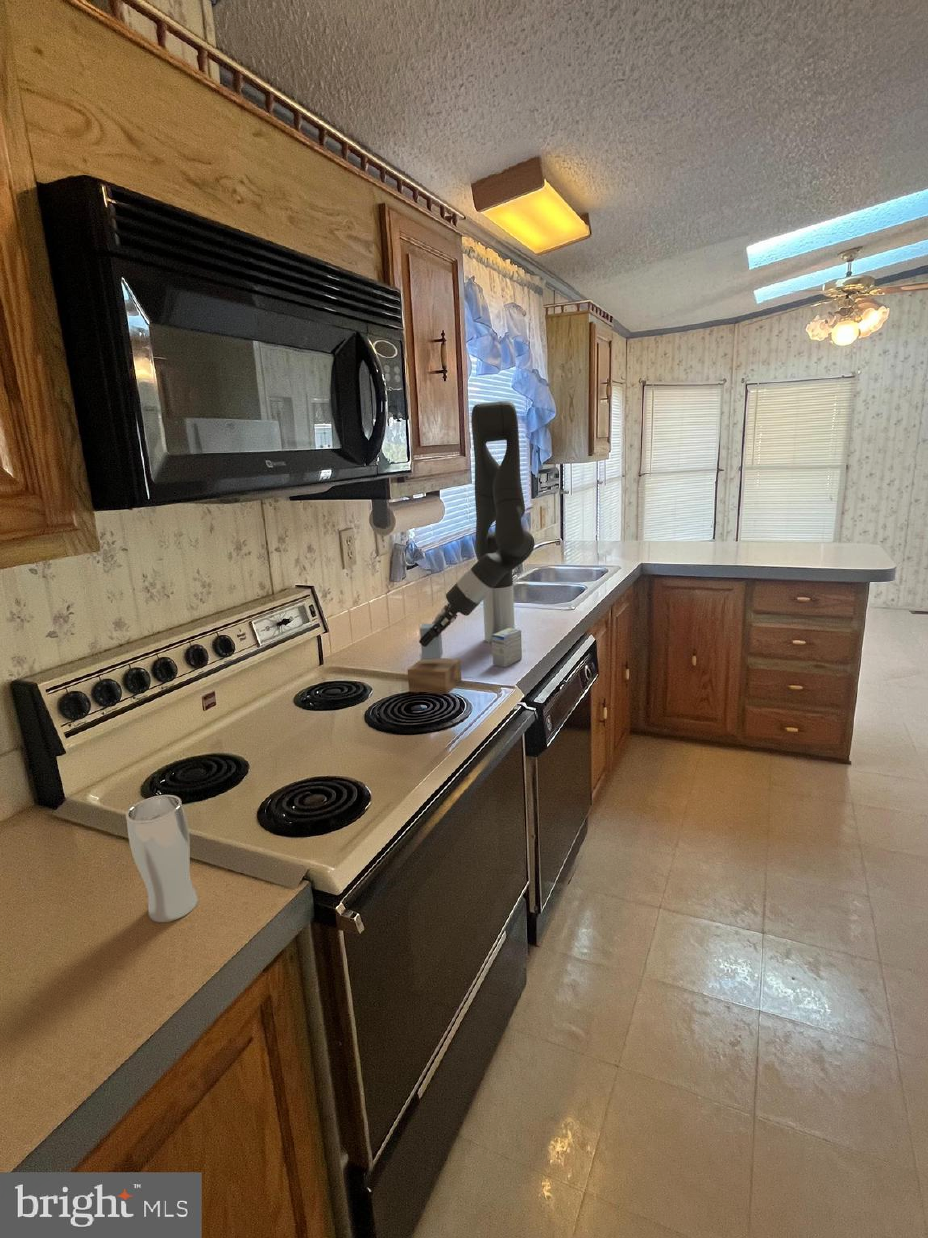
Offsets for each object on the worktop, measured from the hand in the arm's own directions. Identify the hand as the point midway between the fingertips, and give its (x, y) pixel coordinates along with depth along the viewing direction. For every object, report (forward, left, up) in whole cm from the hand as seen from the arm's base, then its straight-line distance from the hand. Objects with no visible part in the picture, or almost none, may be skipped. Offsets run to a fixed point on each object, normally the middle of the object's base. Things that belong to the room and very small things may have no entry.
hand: (423, 640), depth 161 cm
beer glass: (+82, -22, -12) cm, 86 cm away
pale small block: (-11, -1, -12) cm, 16 cm away
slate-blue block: (0, +2, -4) cm, 5 cm away
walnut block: (0, +2, -12) cm, 12 cm away
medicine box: (-17, +20, -12) cm, 29 cm away
